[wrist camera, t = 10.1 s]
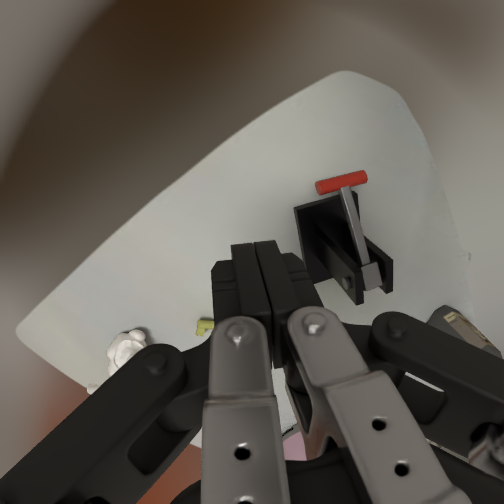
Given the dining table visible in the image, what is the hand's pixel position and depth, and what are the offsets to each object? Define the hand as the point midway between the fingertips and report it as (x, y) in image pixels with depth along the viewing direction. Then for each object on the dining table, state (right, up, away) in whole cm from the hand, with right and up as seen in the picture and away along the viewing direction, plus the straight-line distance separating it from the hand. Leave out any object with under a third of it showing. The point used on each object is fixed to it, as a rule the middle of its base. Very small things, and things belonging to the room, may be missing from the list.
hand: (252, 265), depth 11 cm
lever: (+12, +3, +25) cm, 28 cm away
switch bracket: (+11, +2, +34) cm, 36 cm away
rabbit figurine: (-20, -15, +36) cm, 44 cm away
